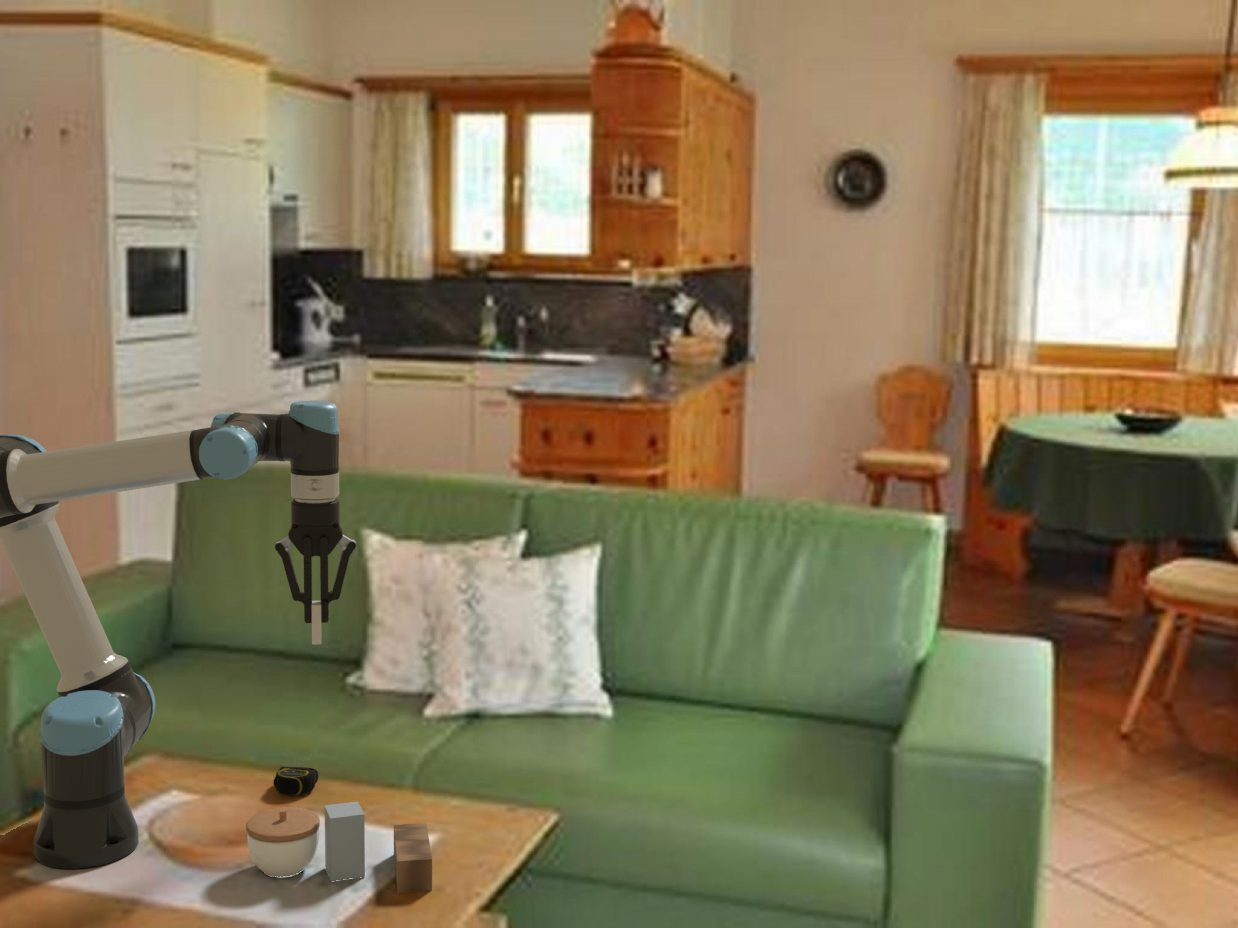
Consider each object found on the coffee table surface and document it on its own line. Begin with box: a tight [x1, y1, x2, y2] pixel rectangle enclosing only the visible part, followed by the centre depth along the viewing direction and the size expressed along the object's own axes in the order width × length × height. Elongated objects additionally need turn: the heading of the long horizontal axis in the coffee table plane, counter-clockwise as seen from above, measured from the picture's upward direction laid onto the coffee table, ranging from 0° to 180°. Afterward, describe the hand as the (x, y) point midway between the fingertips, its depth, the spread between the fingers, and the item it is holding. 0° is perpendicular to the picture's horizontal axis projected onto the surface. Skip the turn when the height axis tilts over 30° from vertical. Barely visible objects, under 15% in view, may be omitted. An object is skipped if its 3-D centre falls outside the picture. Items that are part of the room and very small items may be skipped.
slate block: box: [324, 800, 366, 882], centre depth 211 cm, size 5×5×10 cm
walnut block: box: [393, 822, 433, 894], centre depth 212 cm, size 5×5×13 cm
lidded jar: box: [245, 806, 321, 877], centre depth 212 cm, size 11×11×9 cm
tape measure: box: [272, 766, 319, 796], centre depth 241 cm, size 7×7×4 cm
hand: (316, 641), depth 228 cm, fingers closed
